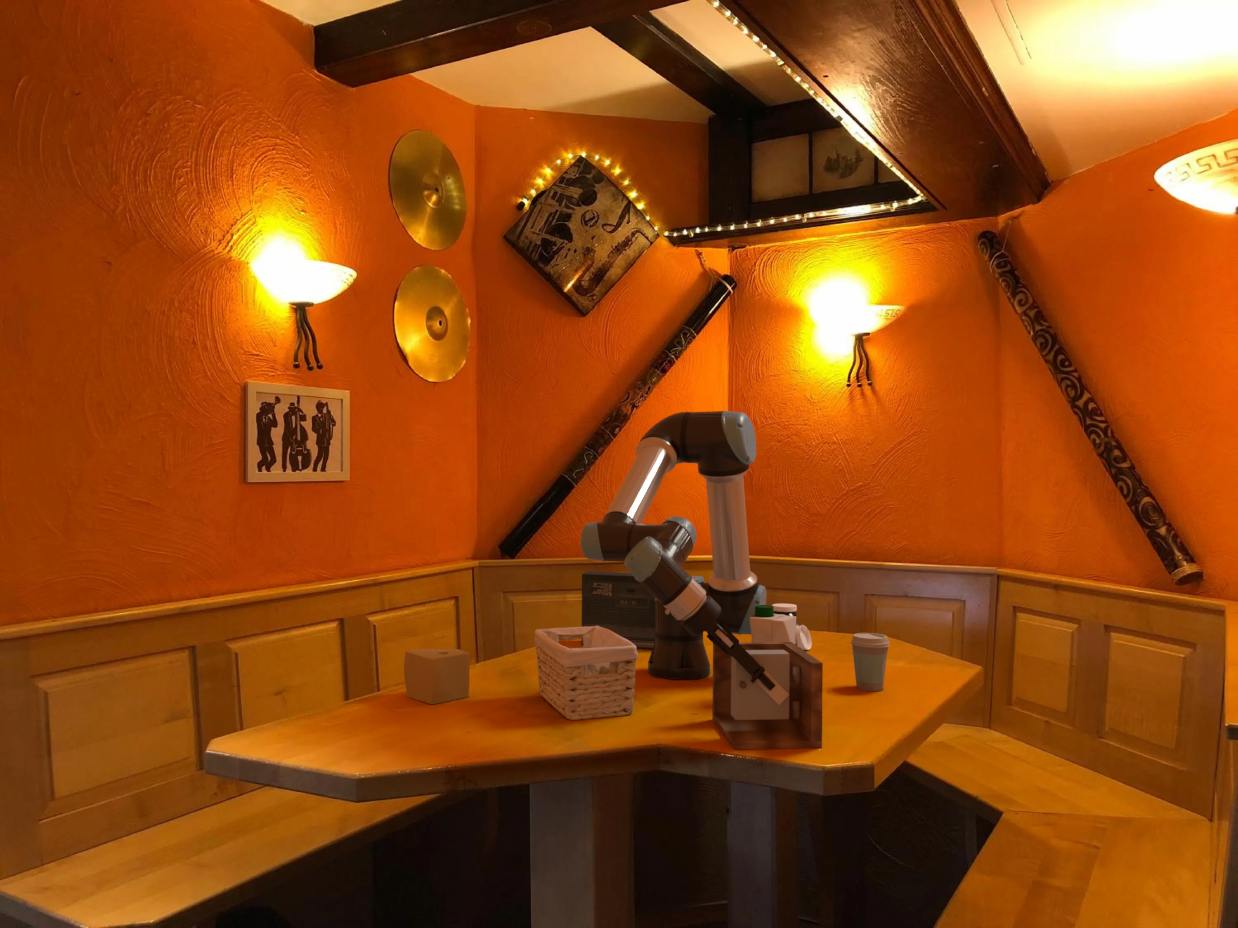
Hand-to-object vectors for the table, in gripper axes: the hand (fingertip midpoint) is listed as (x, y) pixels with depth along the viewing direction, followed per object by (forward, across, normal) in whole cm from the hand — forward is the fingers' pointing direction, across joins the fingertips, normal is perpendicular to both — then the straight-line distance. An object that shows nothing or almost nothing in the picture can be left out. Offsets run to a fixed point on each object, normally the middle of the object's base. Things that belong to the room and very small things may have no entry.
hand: (779, 695), depth 177 cm
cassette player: (-6, -89, -17) cm, 91 cm away
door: (0, 0, -5) cm, 5 cm away
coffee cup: (+27, -37, +16) cm, 49 cm away
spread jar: (+24, -85, +13) cm, 89 cm away
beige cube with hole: (-41, -35, -52) cm, 75 cm away
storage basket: (-19, -26, -30) cm, 44 cm away
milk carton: (+10, -28, -1) cm, 30 cm away
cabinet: (+4, -3, -7) cm, 9 cm away
